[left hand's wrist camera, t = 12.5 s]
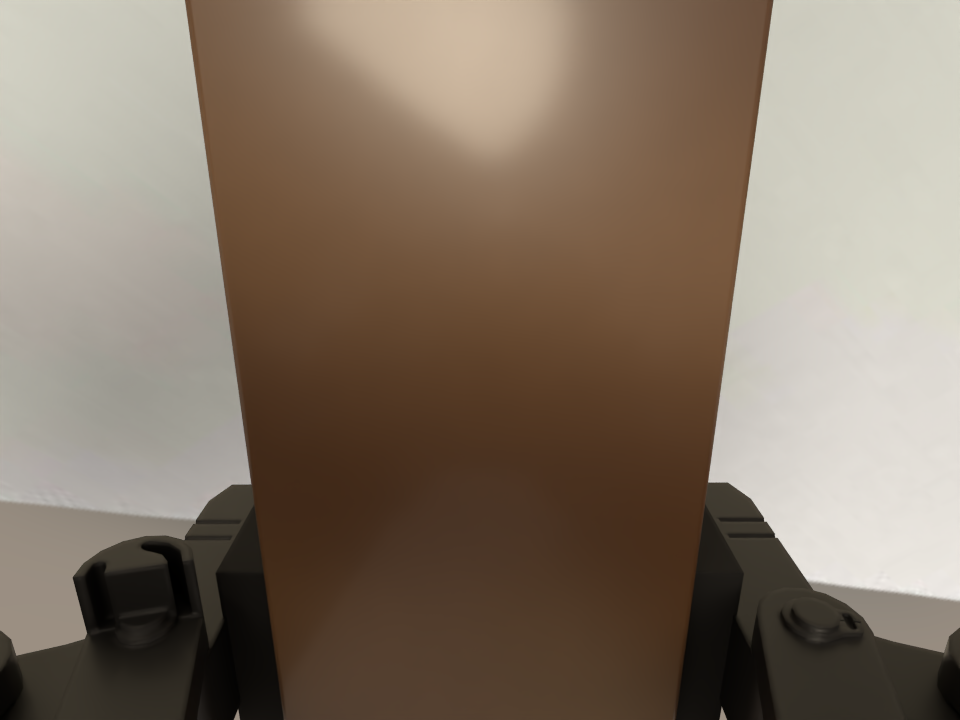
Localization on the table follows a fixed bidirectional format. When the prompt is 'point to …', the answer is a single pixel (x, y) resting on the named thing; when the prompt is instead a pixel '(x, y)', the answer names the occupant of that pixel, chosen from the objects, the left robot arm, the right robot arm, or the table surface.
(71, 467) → the table surface
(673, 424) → the bar
